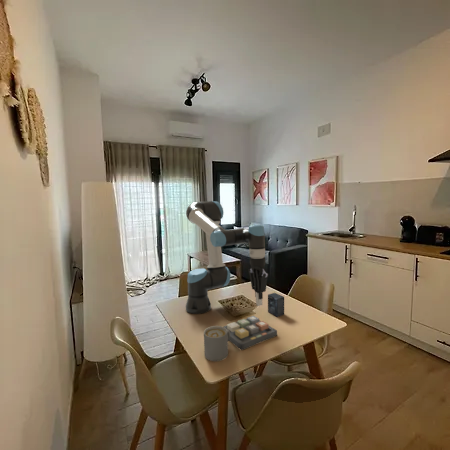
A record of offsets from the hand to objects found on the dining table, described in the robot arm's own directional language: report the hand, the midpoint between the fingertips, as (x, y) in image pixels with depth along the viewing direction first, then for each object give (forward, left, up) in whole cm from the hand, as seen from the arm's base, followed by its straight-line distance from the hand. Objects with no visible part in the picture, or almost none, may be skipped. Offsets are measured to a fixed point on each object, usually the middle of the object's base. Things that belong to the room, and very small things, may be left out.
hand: (259, 304), depth 126 cm
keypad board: (-1, -6, -13) cm, 15 cm away
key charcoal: (+2, -7, -10) cm, 13 cm away
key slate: (-5, 0, -10) cm, 11 cm away
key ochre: (+2, -13, -10) cm, 16 cm away
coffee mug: (+4, -25, -14) cm, 29 cm away
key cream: (-5, -12, -10) cm, 17 cm away
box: (-10, +21, -14) cm, 27 cm away
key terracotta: (+2, -1, -10) cm, 11 cm away
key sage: (-5, -6, -10) cm, 13 cm away
